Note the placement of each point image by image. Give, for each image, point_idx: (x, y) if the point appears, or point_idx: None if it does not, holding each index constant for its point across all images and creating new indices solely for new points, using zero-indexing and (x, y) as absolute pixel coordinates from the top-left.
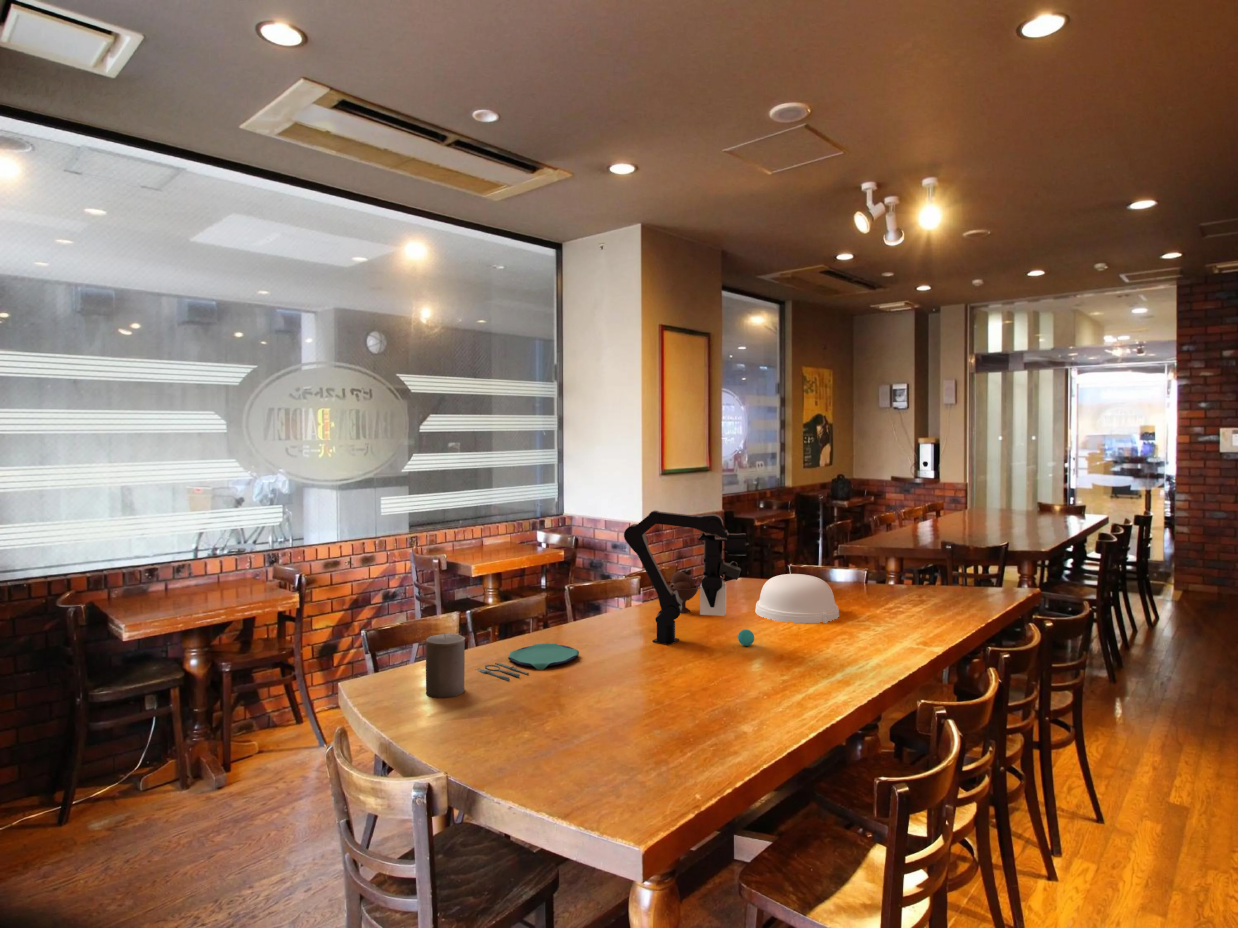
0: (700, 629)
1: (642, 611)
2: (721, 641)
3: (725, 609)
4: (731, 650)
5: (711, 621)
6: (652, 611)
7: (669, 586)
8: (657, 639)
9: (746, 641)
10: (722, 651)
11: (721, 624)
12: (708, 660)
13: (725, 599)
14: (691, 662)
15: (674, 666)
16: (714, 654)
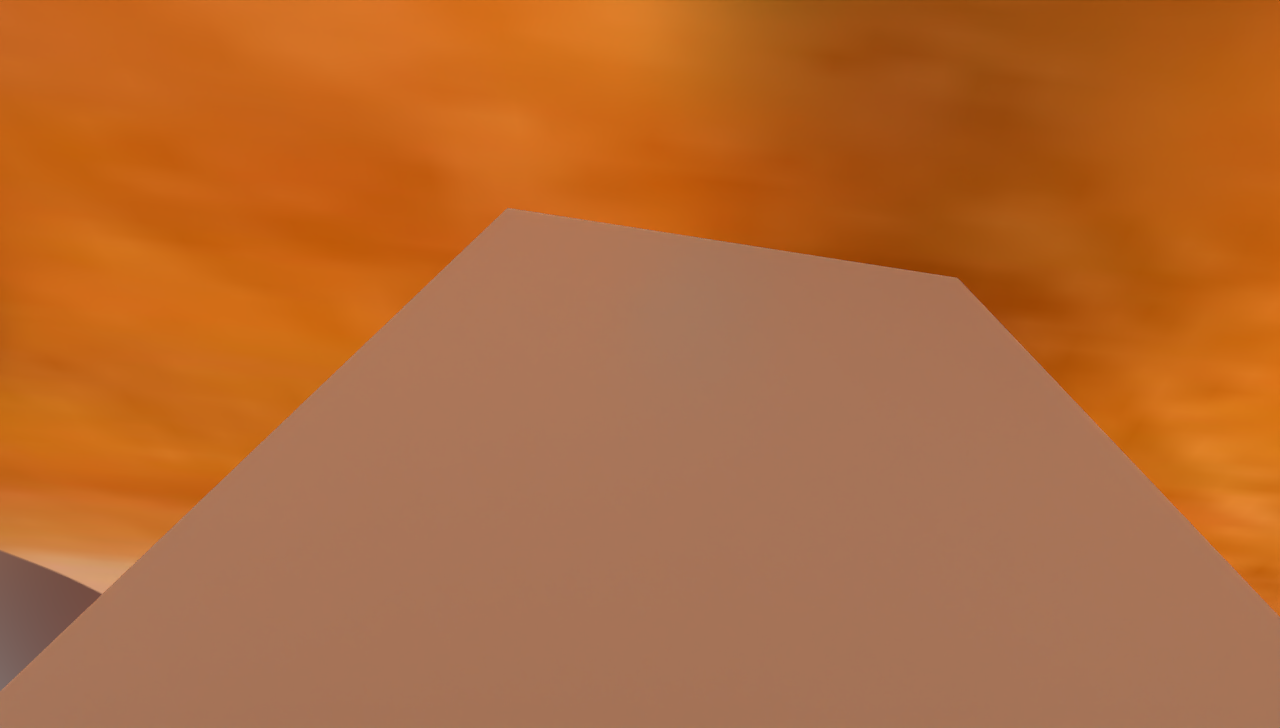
0: (300, 295)
1: (71, 543)
2: (627, 161)
3: (856, 297)
4: (945, 93)
5: (5, 182)
6: (34, 506)
7: None
8: None
9: None
10: (955, 189)
11: (43, 95)
12: (1174, 330)
13: (1047, 474)
14: (1161, 438)
15: (1194, 525)
16: (1024, 268)
